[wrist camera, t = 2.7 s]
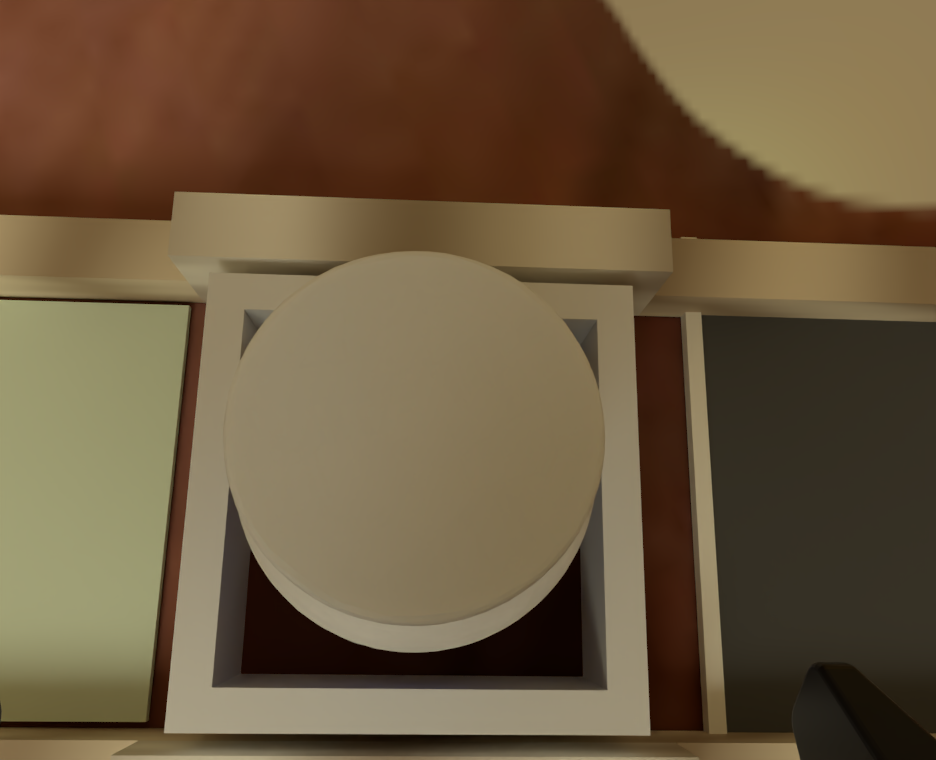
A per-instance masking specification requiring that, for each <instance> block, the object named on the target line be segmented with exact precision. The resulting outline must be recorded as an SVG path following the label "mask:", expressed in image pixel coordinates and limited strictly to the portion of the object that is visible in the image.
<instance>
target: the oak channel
mask: <svg viewBox="0 0 936 760" xmlns="http://www.w3.org/2000/svg"><path fill="white" fill-rule="evenodd" d="M402 251H431V252H440V253H447V254H452V255H456V256H461V257H465V258H468V259H472V260H476V261H478V262H481V263H484V264H486V265H489V266H491V267H494V268H496V269H498V270H500V271H502V272H504V273H506V274H508V275H511V276H512V277H514V278H515V279H517V280H518V281H520V282H529V283H561V284H592V285H624V286H633V309H634V316H663V317H681V316H682V315H683V314H684V313H685V312H701V315H717V316H750V317H784V318H817V319H850V320H884V321H917V322H936V247H917V246H888V245H859V244H830V243H801V242H772V241H743V240H714V239H685V238H671V220H670V210H668V209H641V208H613V207H586V206H558V205H531V204H503V203H475V202H448V201H420V200H393V199H365V198H337V197H310V196H282V195H255V194H227V193H200V192H175V193H174V202H173V211H172V219H171V221H165V220H136V219H107V218H78V217H49V216H20V215H0V297H27V298H60V299H94V300H127V301H161V302H194V303H206V302H207V292H208V282H209V272H213V273H244V274H276V275H308V276H319V275H321V274H323V273H325V272H326V271H328V270H330V269H332V268H334V267H337V266H339V265H342V264H345V263H348V262H351V261H353V260H356V259H360V258H363V257H367V256H372V255H376V254H383V253H390V252H402ZM930 734H931V735H932V736H933V737H934V738H935V739H936V733H930ZM0 760H800V757H799V753H798V749H797V745H796V741H795V737H794V733H747V732H727V734H709V733H707V732H705V731H650V736H637V735H427V734H217V733H164V728H59V727H0Z"/></svg>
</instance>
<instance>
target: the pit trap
mask: <svg viewBox="0 0 936 760" xmlns="http://www.w3.org/2000/svg"><path fill="white" fill-rule="evenodd" d="M681 238H685V239H697V237H681ZM681 332H682V350H683V368H684V386H685V404H686V423H687V441H688V459H689V477H690V495H691V514H692V532H693V550H694V568H695V586H696V604H697V623H698V641H699V659H700V677H701V695H702V713H703V731H705V732H707V733H709V734H727V732H747V733H793V728H792V710H793V706H794V703H795V701H796V698H797V696H798V693H799V691H800V688H801V685H802V683H803V680H804V678H805V675H806V673H807V670H808V668H809V667H810V666H811V665H812V664H814V663H816V662H843V663H848V664H851V665H852V666H854V667H856V668H857V669H858V670H859V671H860V672H862V673H863V674H864V675H865V676H866V677H867V678H868V679H869V680H870V681H872V682H873V683H874V684H875V685H876V686H877V687H878V688H879V689H881V690H882V691H883V692H884V693H885V694H886V695H887V696H888V697H889V698H891V699H892V700H893V701H894V702H895V703H896V704H897V705H898V706H900V707H901V708H902V709H903V710H904V711H905V712H906V713H907V714H908V715H910V716H911V717H912V718H913V719H914V720H915V721H916V722H917V723H919V724H920V725H921V726H922V727H923V728H924V729H925V730H926V731H928V732H929V733H936V322H917V321H884V320H850V319H817V318H784V317H750V316H717V315H701V312H685V313H684V314H683V315H682V316H681Z"/></svg>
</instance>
